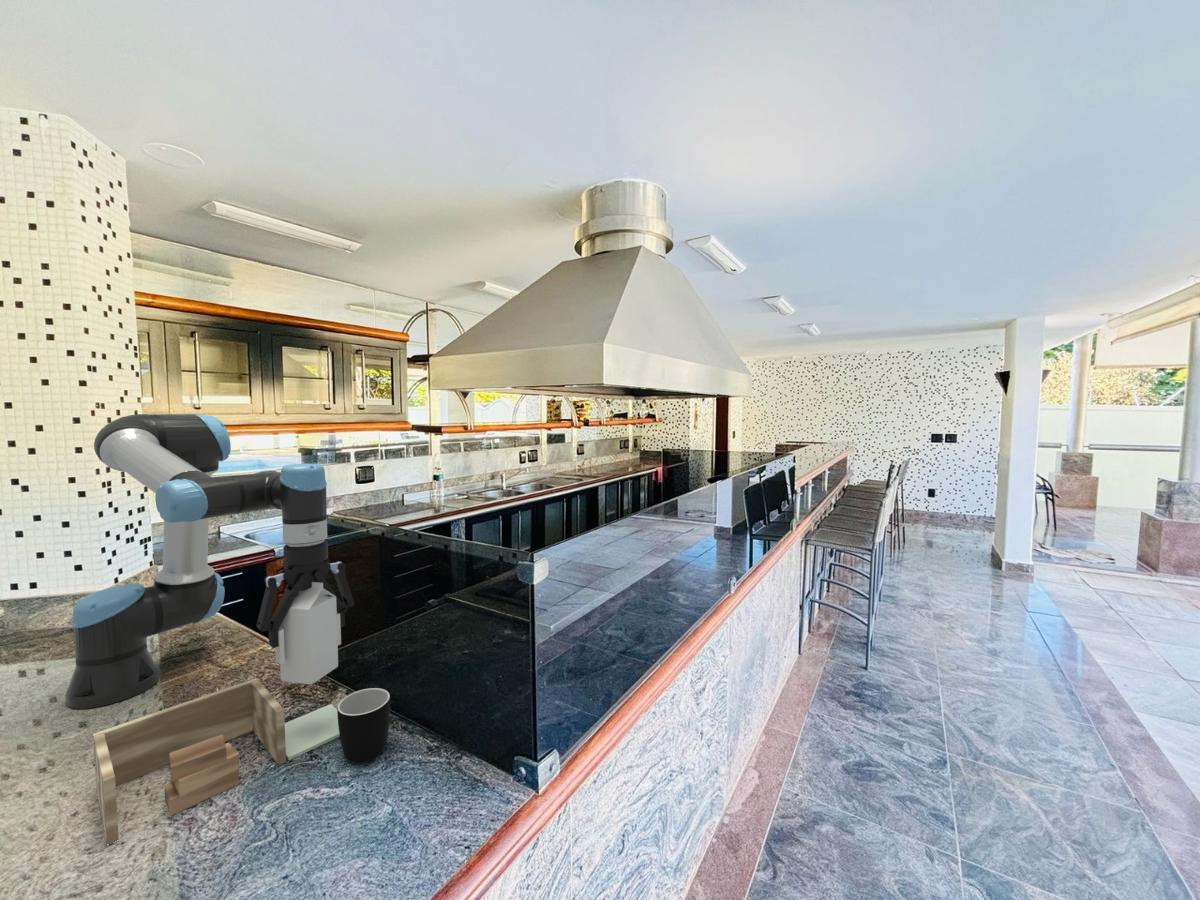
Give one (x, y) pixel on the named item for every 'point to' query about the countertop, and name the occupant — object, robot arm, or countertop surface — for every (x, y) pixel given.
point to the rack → (182, 738)
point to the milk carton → (310, 636)
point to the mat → (311, 731)
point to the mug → (364, 724)
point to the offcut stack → (201, 773)
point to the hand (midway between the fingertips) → (309, 651)
